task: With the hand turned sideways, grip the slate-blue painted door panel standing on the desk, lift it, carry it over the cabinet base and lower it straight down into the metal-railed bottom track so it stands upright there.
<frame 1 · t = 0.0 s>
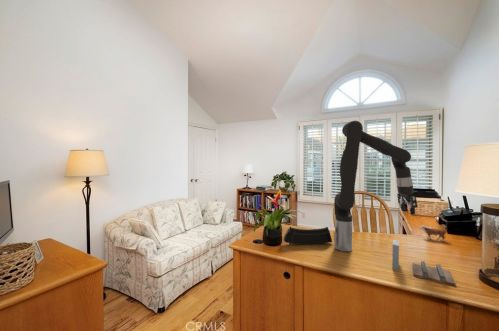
hand: (408, 212, 127), 22 cm above the table, tool pointing down, fingers open, 8 cm apart
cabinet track: (432, 274, 101), on the table
door panel: (395, 266, 109), on the table
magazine: (307, 244, 138), on the table
bull figurine: (432, 239, 146), on the table
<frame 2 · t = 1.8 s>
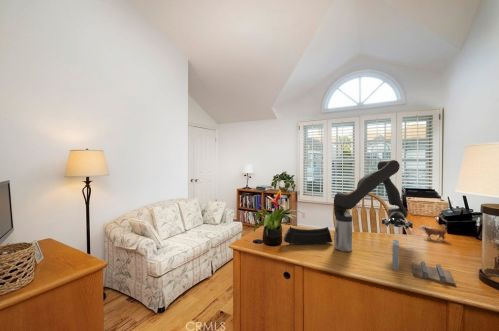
hand: (396, 225, 118), 17 cm above the table, tool horizontal, fingers open, 8 cm apart
nothing on the table moved.
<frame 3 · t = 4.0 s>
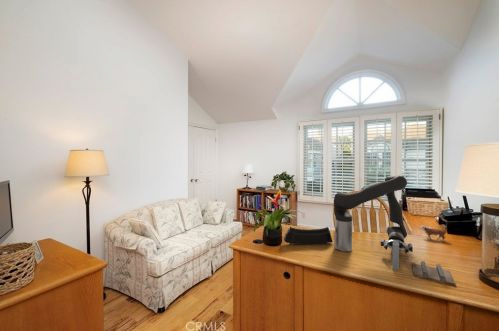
hand: (395, 249, 113), 7 cm above the table, tool horizontal, fingers open, 8 cm apart
nothing on the table moved.
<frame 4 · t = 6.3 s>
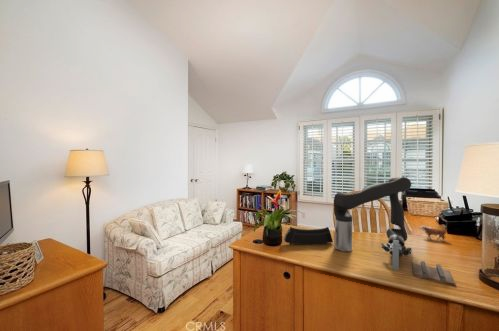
hand: (395, 254, 108), 7 cm above the table, tool horizontal, fingers closed on door panel, 2 cm apart
door panel: (395, 266, 109), on the table, touching gripper
everything else where it was.
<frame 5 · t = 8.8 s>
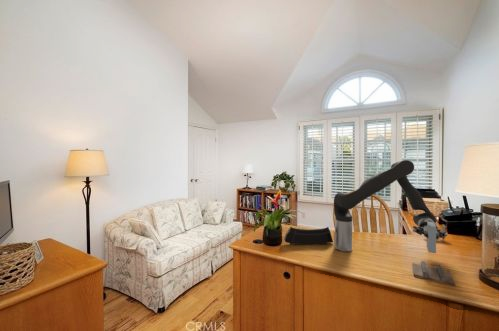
hand: (431, 236, 100), 18 cm above the table, tool horizontal, fingers closed on door panel, 2 cm apart
door panel: (431, 249, 102), point 11 cm above the table, touching gripper
everything else where it was.
when the fingers open (8 cm above the table, at t = 11.3 s): door panel stays where it is, resting on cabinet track.
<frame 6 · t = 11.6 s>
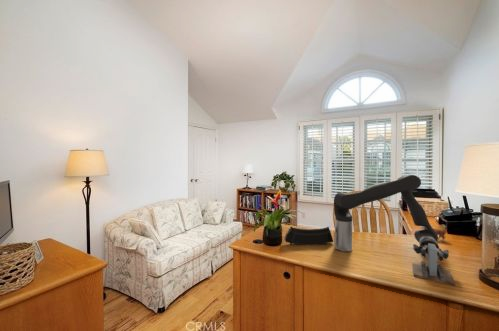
hand: (432, 257, 100), 9 cm above the table, tool horizontal, fingers open, 5 cm apart
door panel: (432, 272, 101), point 1 cm above the table, touching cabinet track
everything else where it was.
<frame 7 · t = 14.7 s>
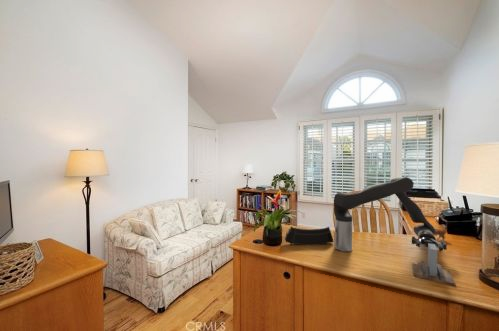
hand: (429, 247, 111), 9 cm above the table, tool horizontal, fingers open, 8 cm apart
nothing on the table moved.
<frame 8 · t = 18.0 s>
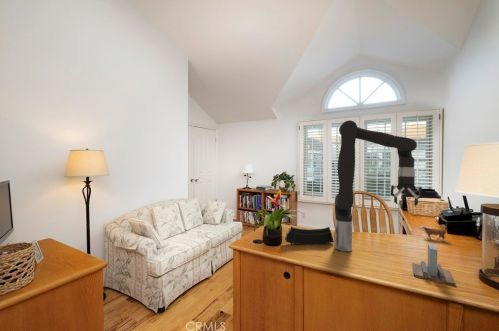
hand: (405, 204, 121), 28 cm above the table, tool pointing down, fingers open, 8 cm apart
nothing on the table moved.
at the end: door panel 0.2 cm off-centre on the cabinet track, point 1.0 cm above the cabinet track's base; door panel tilted 0°; the gripper is holding nothing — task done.
